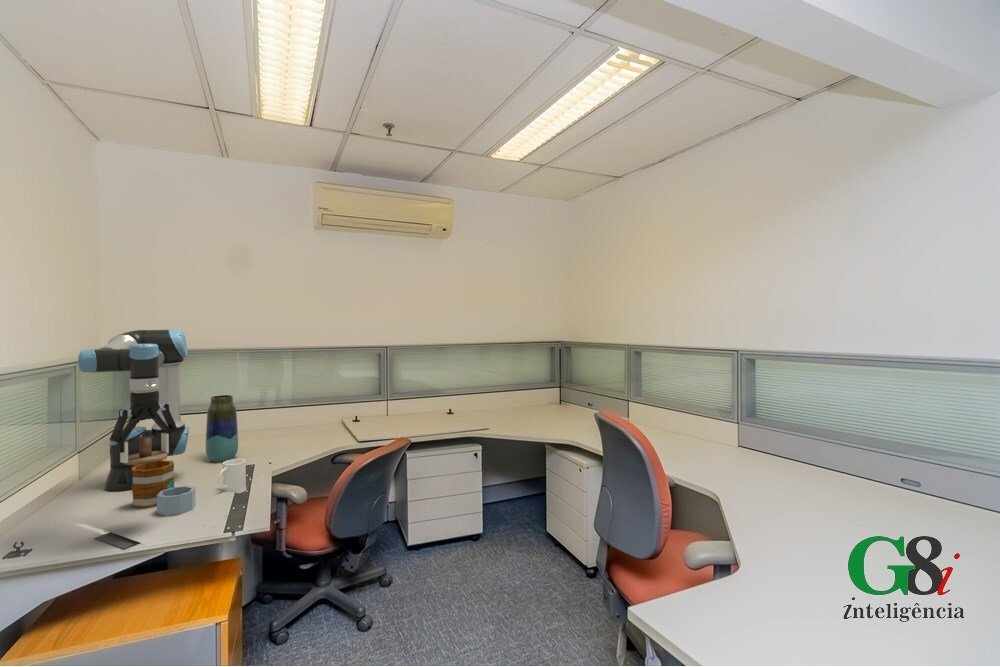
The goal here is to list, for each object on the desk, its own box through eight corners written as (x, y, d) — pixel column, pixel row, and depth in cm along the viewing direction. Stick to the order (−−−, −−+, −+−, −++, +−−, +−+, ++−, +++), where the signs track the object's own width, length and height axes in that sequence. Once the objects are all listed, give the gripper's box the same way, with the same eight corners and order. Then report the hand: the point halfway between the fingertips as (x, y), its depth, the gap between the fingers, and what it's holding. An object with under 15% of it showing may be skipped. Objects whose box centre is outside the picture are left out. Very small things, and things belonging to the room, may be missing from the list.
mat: (94, 538, 148) (94, 537, 148) (143, 521, 160) (143, 520, 160) (123, 549, 141) (123, 548, 141) (172, 530, 154) (172, 529, 154)
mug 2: (225, 499, 181) (224, 468, 181) (209, 495, 184) (209, 465, 184) (251, 489, 192) (251, 459, 192) (236, 486, 195) (236, 457, 195)
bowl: (151, 516, 165) (151, 493, 165) (182, 505, 174) (182, 484, 174) (170, 522, 160) (170, 498, 160) (201, 510, 170) (200, 488, 170)
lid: (114, 462, 151) (114, 439, 151) (153, 453, 162) (153, 432, 161) (136, 466, 146) (136, 443, 146) (175, 457, 157) (175, 435, 157)
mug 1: (167, 510, 170) (167, 469, 169) (123, 514, 166) (122, 472, 165) (186, 491, 188) (186, 454, 188) (147, 494, 185) (146, 457, 184)
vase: (203, 465, 222) (202, 399, 221) (208, 457, 235) (207, 395, 234) (236, 462, 228) (236, 397, 227) (239, 454, 240) (239, 393, 239)
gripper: (109, 396, 141) (109, 468, 141) (189, 387, 163) (189, 449, 163) (94, 395, 144) (95, 465, 144) (175, 386, 166) (175, 447, 166)
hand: (145, 457), depth 154 cm, fingers closed on lid, 11 cm apart
